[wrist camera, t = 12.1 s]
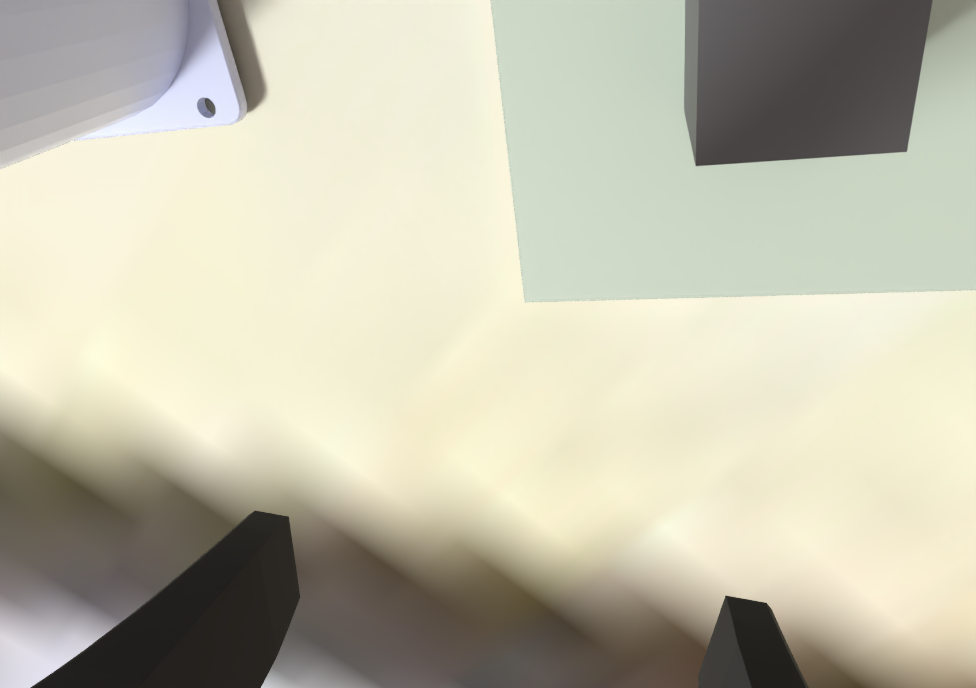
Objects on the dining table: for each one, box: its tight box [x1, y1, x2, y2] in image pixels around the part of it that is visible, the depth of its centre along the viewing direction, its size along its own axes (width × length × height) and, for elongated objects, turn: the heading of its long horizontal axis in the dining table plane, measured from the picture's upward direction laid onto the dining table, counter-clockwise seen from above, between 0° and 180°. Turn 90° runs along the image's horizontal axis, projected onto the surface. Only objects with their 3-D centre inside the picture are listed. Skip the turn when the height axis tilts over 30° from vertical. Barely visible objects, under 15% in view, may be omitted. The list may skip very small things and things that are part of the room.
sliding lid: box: [491, 0, 976, 302], centre depth 14 cm, size 12×14×6 cm
